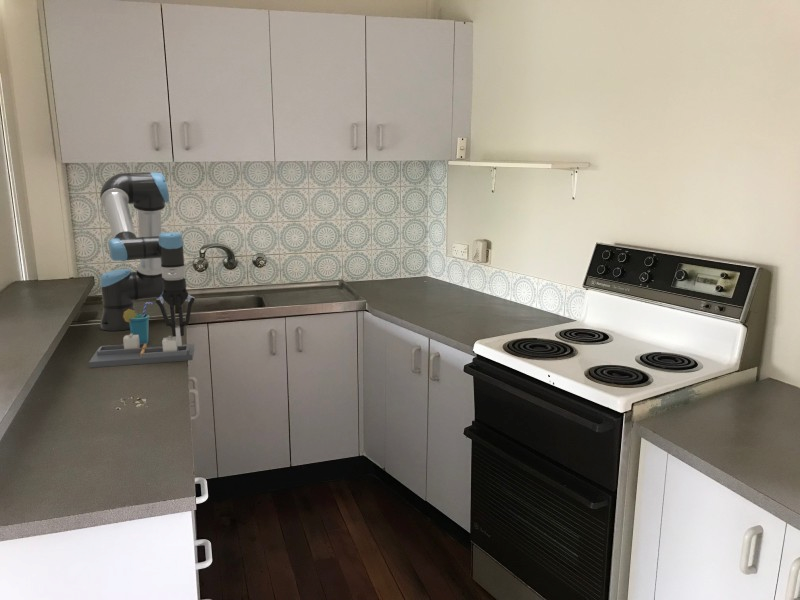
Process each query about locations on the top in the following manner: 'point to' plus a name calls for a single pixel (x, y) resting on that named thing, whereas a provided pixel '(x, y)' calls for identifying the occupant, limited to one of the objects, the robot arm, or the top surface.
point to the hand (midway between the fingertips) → (179, 344)
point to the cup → (138, 323)
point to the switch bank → (139, 355)
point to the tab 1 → (131, 341)
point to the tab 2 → (169, 344)
